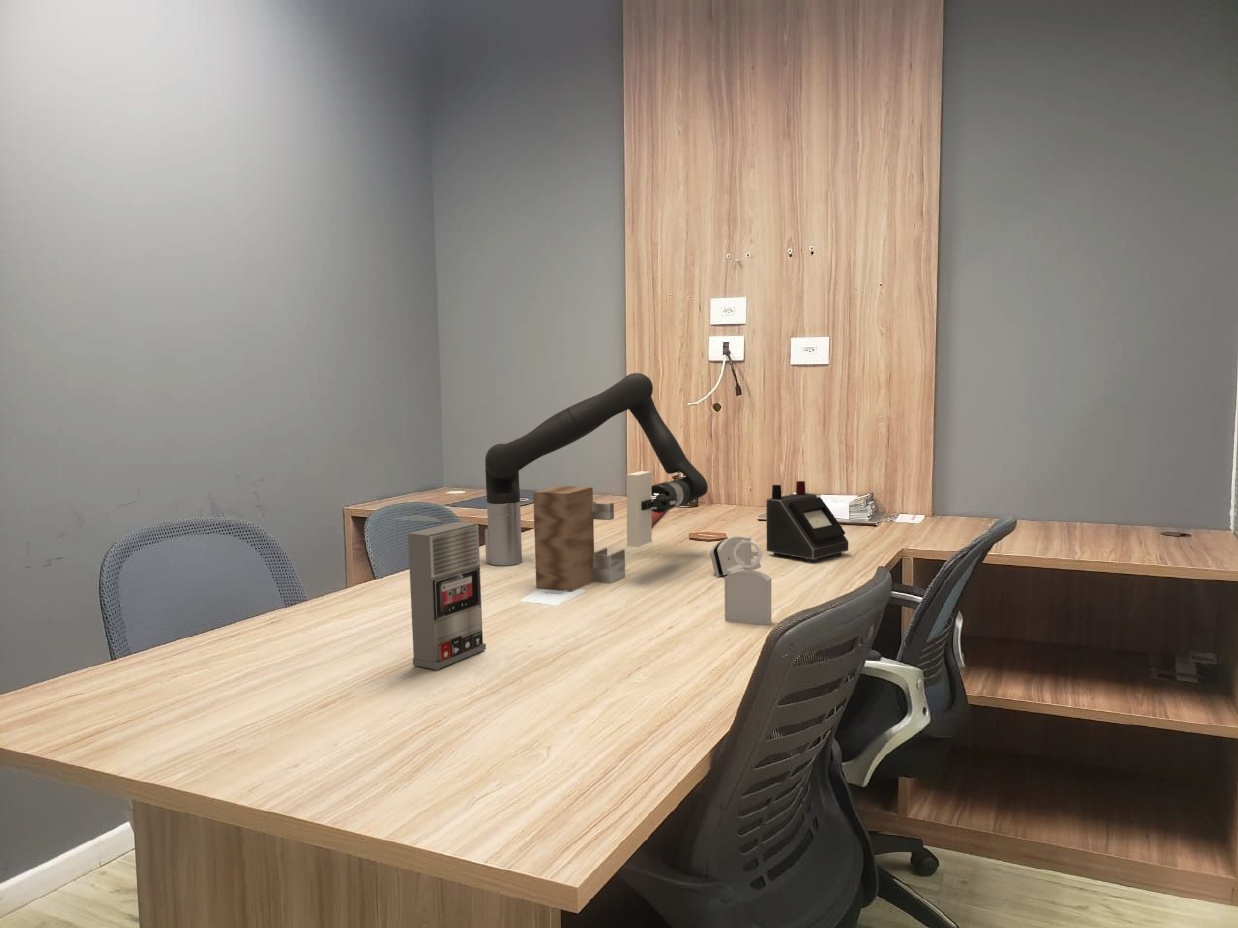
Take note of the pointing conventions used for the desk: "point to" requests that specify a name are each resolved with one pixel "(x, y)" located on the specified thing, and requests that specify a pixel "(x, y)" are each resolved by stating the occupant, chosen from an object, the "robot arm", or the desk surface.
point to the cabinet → (571, 540)
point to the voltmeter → (802, 526)
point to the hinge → (728, 556)
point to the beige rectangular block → (638, 509)
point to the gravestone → (748, 589)
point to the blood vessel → (655, 516)
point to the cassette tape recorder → (445, 594)
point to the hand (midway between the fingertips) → (636, 505)
